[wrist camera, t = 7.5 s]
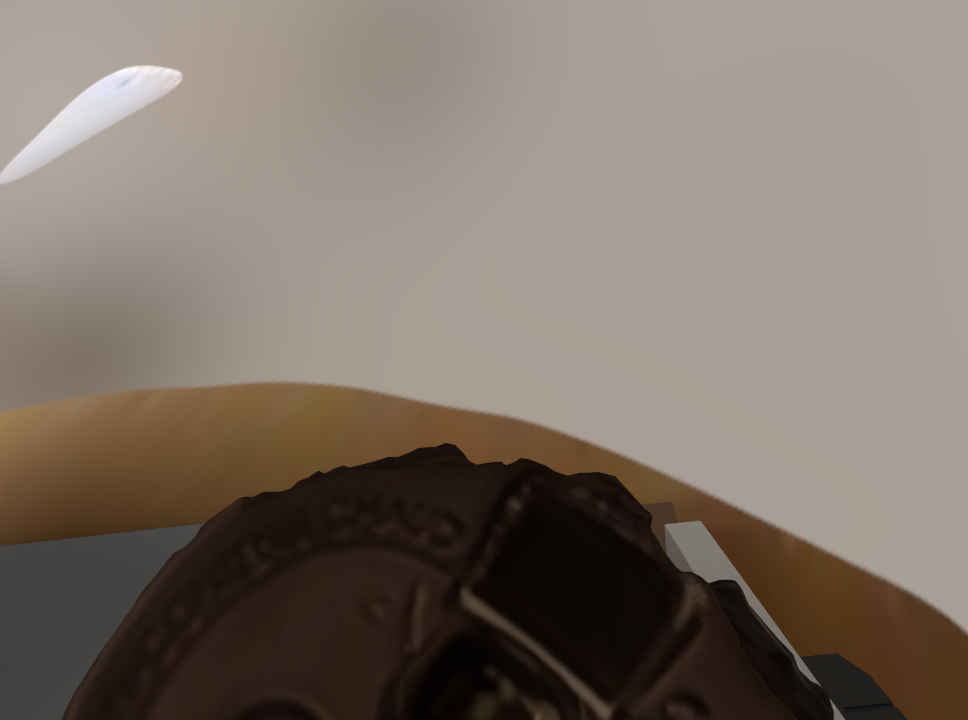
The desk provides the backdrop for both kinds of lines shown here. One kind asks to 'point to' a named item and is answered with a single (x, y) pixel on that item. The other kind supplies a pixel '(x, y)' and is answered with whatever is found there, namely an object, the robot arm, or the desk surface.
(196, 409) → the desk surface
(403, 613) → the coffee cup
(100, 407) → the desk surface
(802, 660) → the robot arm
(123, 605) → the mat
